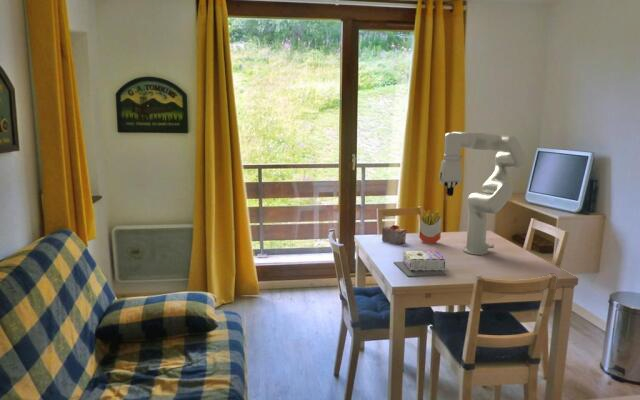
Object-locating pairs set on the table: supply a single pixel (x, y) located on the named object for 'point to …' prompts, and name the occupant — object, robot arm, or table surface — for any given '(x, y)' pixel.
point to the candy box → (423, 261)
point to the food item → (393, 234)
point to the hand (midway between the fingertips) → (449, 195)
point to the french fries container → (430, 227)
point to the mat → (416, 273)
